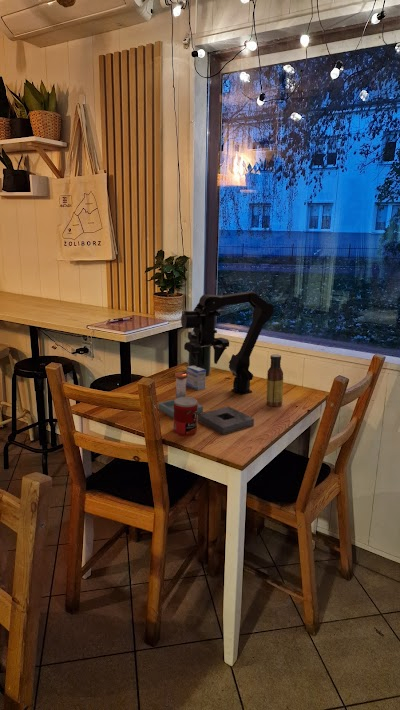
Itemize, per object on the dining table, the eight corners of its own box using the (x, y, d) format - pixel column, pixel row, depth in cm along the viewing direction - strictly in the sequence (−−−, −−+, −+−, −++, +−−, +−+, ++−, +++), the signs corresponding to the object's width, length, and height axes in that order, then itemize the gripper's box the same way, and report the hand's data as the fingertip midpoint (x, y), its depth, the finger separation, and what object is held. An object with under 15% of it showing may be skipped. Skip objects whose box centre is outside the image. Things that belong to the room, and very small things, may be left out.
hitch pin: (186, 407, 180) (187, 371, 176) (187, 411, 176) (187, 375, 172) (174, 407, 180) (174, 371, 176) (174, 411, 175) (175, 375, 172)
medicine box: (185, 385, 206) (186, 366, 204) (193, 383, 209) (193, 365, 207) (197, 390, 200) (198, 371, 198) (205, 388, 203) (206, 369, 201)
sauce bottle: (283, 402, 189) (287, 354, 184) (280, 407, 184) (284, 358, 178) (267, 400, 191) (270, 352, 186) (263, 405, 186) (267, 356, 180)
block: (228, 412, 178) (228, 406, 177) (253, 425, 167) (254, 418, 166) (197, 420, 169) (198, 414, 169) (222, 434, 159) (223, 427, 158)
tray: (184, 403, 186) (184, 397, 185) (202, 412, 177) (203, 406, 176) (158, 409, 179) (158, 403, 178) (176, 419, 170) (176, 413, 169)
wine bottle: (186, 375, 220) (187, 305, 211) (190, 369, 230) (191, 301, 221) (208, 377, 218) (210, 306, 209) (211, 371, 228) (214, 302, 219)
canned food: (188, 438, 155) (189, 406, 152) (168, 432, 159) (169, 401, 156) (201, 430, 161) (202, 400, 159) (181, 425, 165) (182, 395, 163)
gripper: (213, 321, 199) (212, 357, 203) (176, 326, 188) (176, 364, 192) (230, 326, 190) (229, 363, 194) (193, 331, 179) (192, 370, 183)
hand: (206, 365), depth 191 cm, fingers open, 9 cm apart
